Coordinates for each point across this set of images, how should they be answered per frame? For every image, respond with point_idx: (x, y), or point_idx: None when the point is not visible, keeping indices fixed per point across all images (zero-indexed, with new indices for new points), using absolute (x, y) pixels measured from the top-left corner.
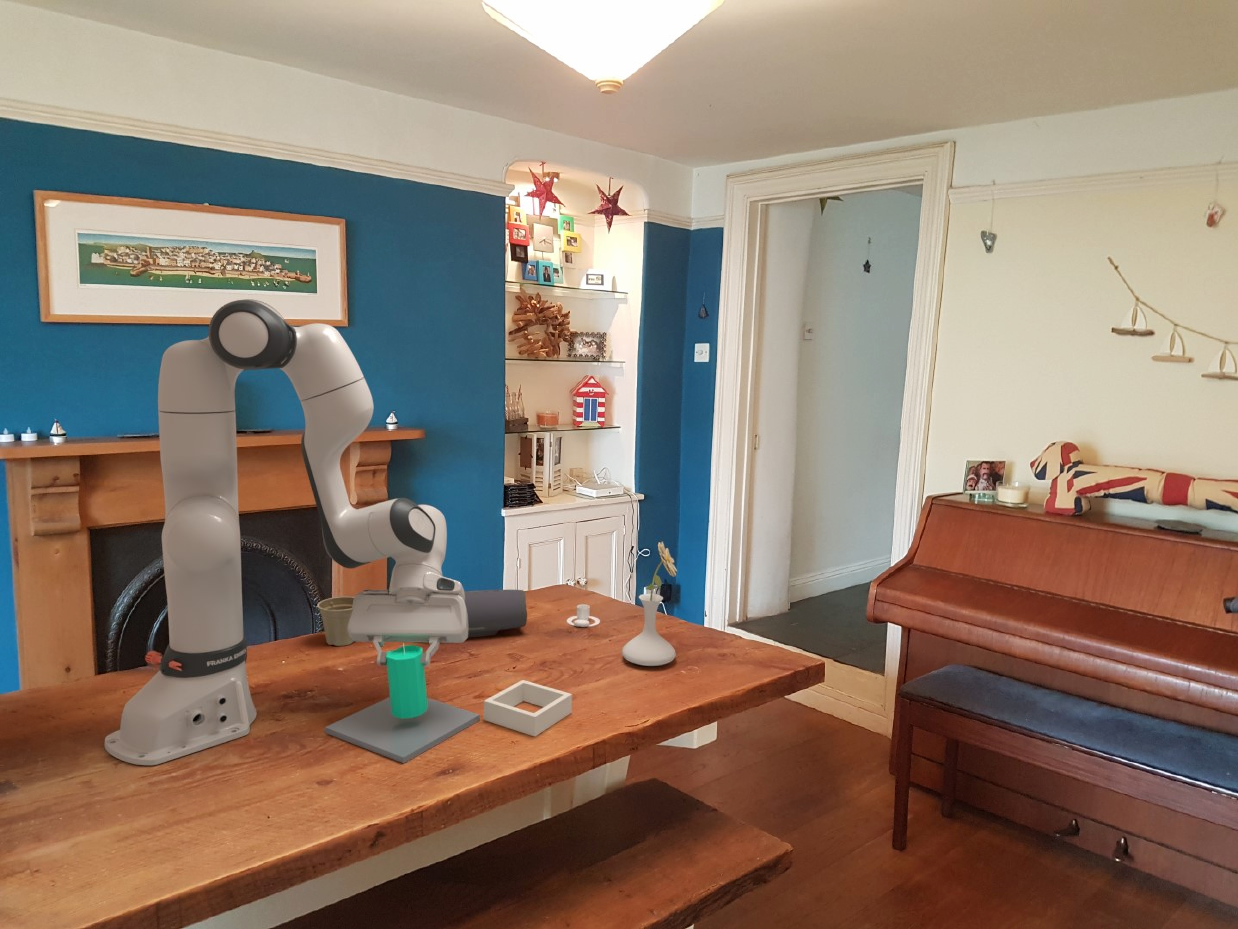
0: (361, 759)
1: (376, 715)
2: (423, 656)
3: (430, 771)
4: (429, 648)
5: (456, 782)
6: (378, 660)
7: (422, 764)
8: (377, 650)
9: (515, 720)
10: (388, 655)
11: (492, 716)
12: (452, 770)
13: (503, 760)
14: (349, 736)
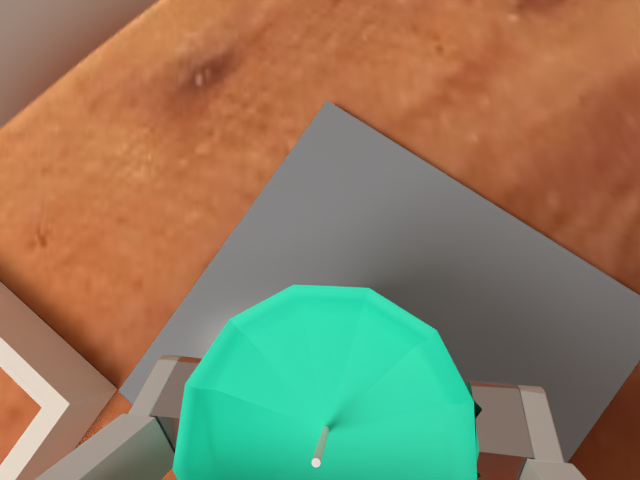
0: (464, 130)
1: None
2: (180, 386)
3: (251, 72)
4: (111, 441)
5: (181, 24)
6: (530, 389)
7: (277, 108)
8: (579, 474)
9: (3, 310)
10: (457, 422)
11: (77, 368)
12: (195, 80)
13: (70, 136)
14: (544, 236)
